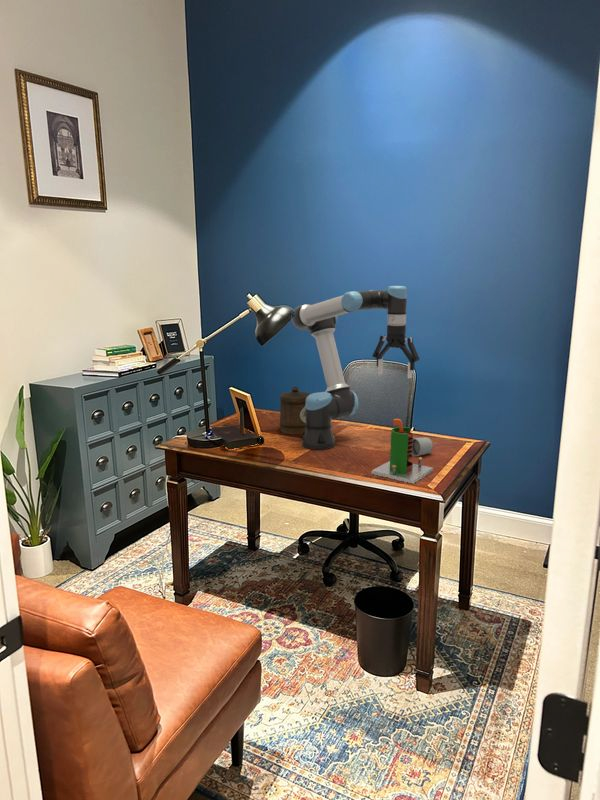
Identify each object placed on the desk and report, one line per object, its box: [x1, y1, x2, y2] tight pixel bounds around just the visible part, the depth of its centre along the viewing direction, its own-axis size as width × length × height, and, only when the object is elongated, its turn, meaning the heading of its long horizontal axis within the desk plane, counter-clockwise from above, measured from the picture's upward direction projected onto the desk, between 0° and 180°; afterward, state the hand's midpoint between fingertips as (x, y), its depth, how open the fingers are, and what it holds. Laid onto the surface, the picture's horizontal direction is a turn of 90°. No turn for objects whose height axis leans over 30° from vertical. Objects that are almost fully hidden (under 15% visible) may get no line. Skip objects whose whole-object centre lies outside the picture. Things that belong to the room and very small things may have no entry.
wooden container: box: [279, 386, 310, 435], centre depth 295 cm, size 15×15×22 cm
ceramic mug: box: [412, 437, 434, 457], centre depth 260 cm, size 11×8×8 cm
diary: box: [209, 424, 265, 449], centre depth 280 cm, size 19×25×5 cm
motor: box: [389, 418, 415, 473], centre depth 235 cm, size 10×9×20 cm
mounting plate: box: [371, 456, 434, 485], centre depth 237 cm, size 18×17×5 cm
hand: (394, 376), depth 250 cm, fingers open, 13 cm apart
